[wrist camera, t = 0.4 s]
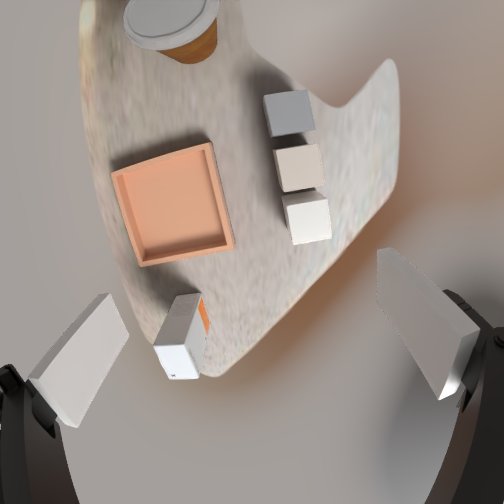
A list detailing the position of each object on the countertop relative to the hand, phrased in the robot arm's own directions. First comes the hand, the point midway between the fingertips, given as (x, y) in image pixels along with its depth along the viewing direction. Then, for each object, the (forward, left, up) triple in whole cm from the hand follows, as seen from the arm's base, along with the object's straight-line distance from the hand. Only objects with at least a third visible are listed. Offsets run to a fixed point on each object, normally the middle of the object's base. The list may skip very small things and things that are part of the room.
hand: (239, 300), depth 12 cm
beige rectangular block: (-3, +6, -24) cm, 25 cm away
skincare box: (+15, -12, -24) cm, 31 cm away
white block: (+3, +6, -24) cm, 25 cm away
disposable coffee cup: (-22, -3, -24) cm, 33 cm away
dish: (-1, -10, -24) cm, 26 cm away
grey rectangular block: (-9, +6, -24) cm, 26 cm away
